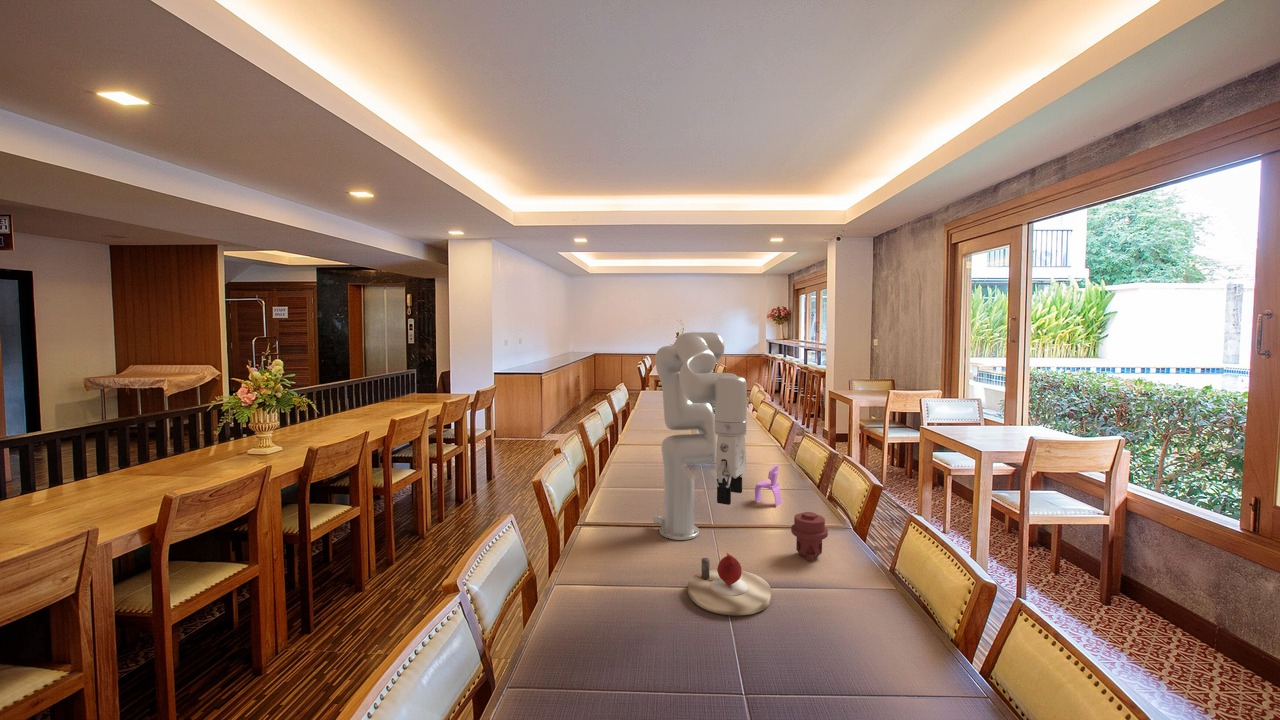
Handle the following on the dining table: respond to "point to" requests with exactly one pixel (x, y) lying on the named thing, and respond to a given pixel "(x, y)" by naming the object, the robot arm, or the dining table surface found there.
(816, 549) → the mechanical component
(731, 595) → the turntable
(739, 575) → the onion
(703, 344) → the robot arm
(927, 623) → the dining table surface
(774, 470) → the toy chair
